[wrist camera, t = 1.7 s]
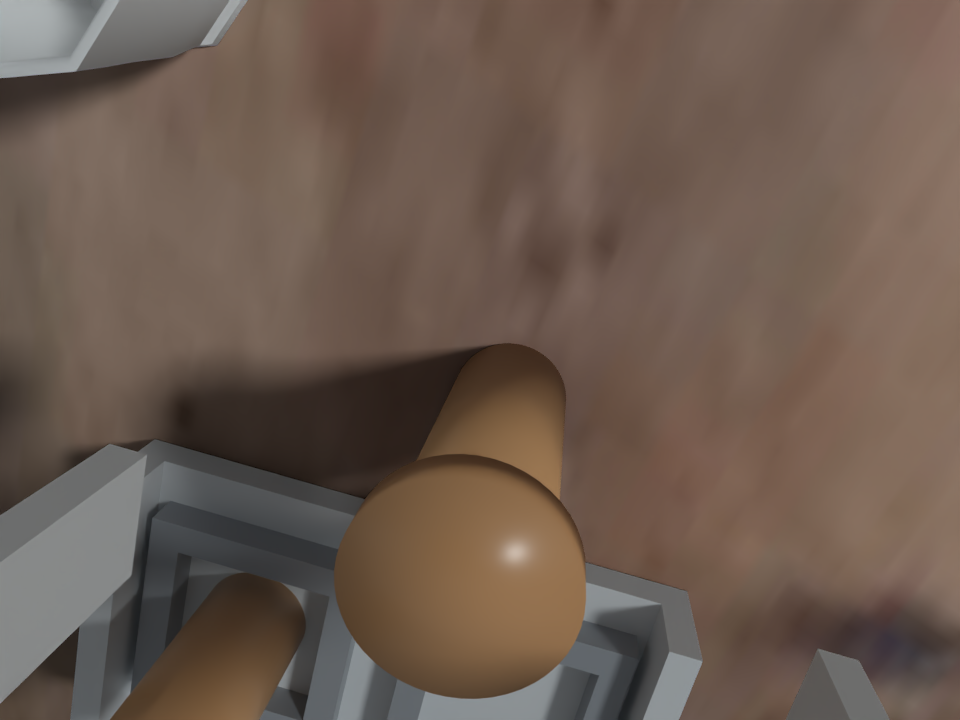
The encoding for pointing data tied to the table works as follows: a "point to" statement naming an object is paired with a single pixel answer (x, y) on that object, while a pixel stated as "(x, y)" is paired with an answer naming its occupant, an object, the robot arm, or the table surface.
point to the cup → (105, 32)
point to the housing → (327, 642)
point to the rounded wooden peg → (223, 656)
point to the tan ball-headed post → (472, 541)
